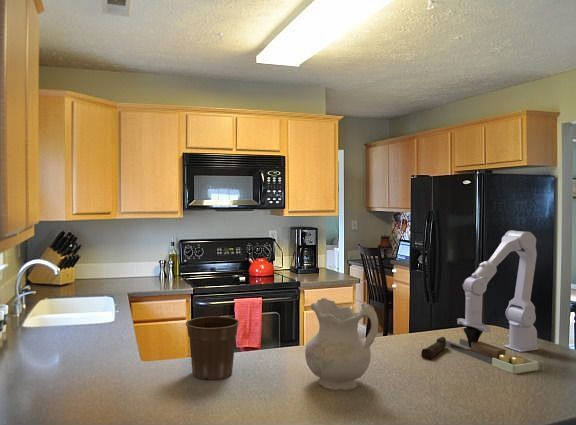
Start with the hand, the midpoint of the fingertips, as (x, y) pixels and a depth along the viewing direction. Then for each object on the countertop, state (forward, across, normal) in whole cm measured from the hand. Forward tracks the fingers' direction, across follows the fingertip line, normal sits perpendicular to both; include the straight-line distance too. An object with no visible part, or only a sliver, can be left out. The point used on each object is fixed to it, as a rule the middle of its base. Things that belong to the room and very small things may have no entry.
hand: (472, 347), depth 189 cm
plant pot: (+2, -9, -95) cm, 95 cm away
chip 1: (+1, +15, 0) cm, 15 cm away
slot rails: (+1, +2, 0) cm, 2 cm away
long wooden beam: (+1, +7, 0) cm, 7 cm away
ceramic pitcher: (+2, +13, -62) cm, 63 cm away
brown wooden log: (+2, -4, -14) cm, 15 cm away
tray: (+1, +19, 0) cm, 19 cm away
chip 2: (+1, +19, +1) cm, 19 cm away
